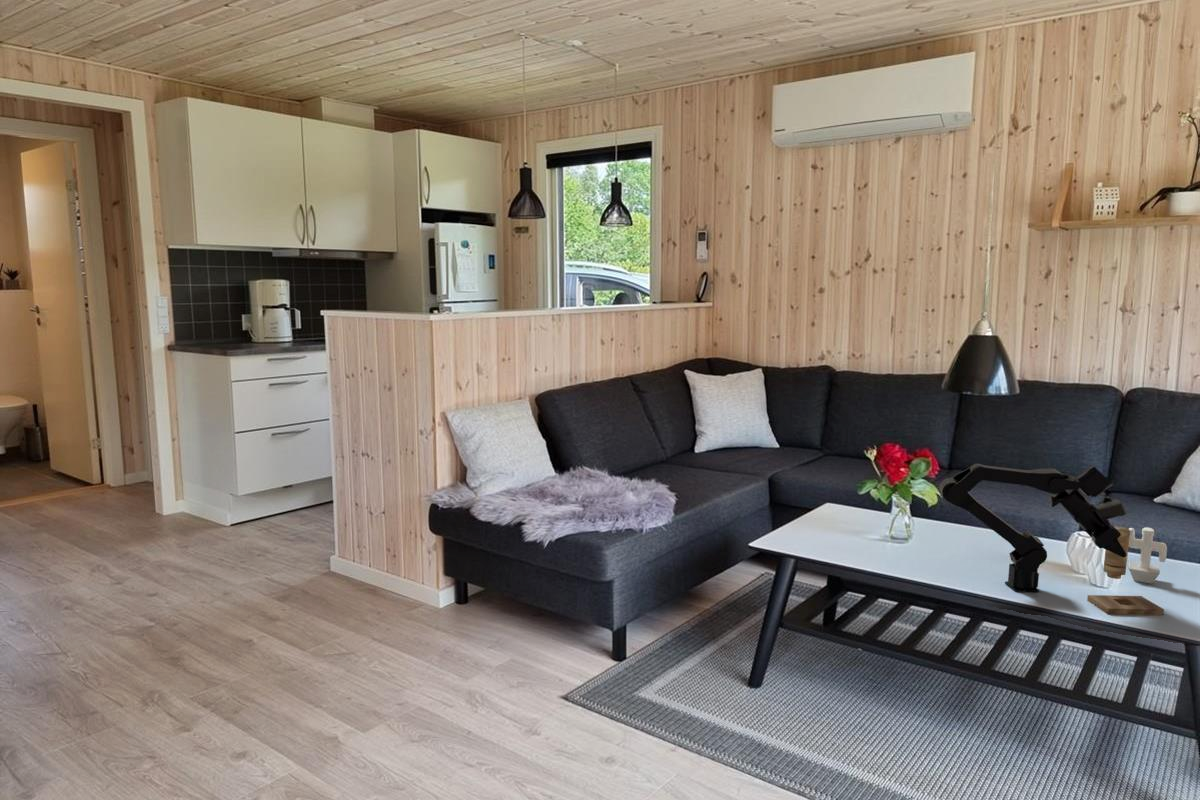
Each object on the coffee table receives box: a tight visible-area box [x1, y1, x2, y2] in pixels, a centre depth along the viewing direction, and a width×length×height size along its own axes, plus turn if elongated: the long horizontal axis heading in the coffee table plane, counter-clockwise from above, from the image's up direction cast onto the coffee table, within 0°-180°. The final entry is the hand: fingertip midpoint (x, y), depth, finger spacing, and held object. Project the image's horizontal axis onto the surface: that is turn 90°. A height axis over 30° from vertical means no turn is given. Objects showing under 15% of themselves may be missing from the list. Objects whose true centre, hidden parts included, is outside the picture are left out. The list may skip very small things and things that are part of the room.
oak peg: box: [1103, 526, 1130, 580], centre depth 216 cm, size 5×5×13 cm
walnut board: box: [1087, 594, 1165, 616], centre depth 211 cm, size 14×9×2 cm, turn 89°
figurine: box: [1128, 526, 1168, 585], centre depth 230 cm, size 7×9×15 cm
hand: (1122, 553), depth 215 cm, fingers closed on oak peg, 5 cm apart
